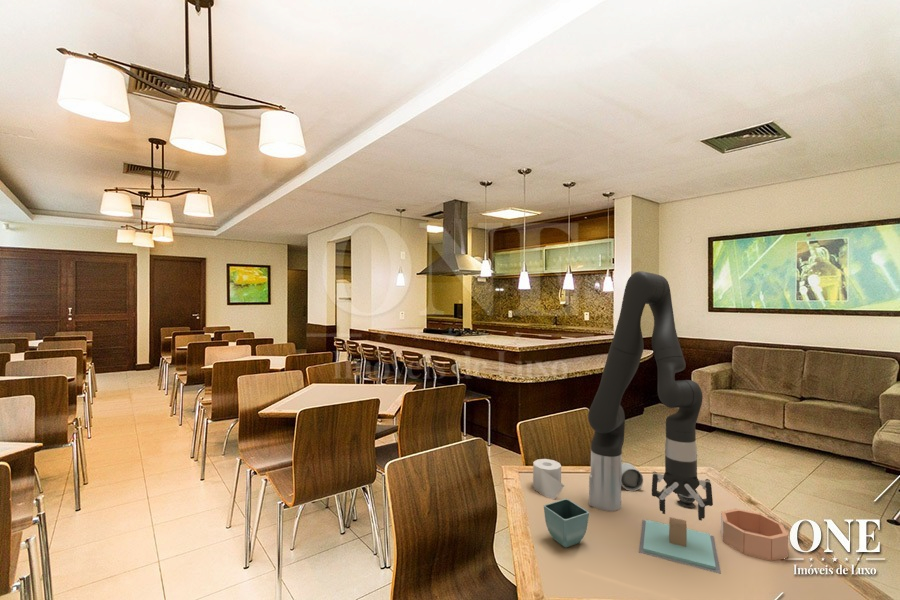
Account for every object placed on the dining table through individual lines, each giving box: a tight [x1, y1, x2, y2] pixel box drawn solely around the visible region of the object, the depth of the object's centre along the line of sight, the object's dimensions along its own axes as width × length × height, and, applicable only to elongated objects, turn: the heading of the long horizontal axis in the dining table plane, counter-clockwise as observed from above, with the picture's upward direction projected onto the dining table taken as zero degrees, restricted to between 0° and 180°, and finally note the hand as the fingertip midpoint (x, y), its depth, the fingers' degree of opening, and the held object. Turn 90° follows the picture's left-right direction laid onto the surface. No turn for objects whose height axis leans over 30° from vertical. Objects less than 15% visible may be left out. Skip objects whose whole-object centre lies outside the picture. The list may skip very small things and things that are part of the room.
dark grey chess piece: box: [676, 494, 697, 509], centre depth 136 cm, size 6×6×12 cm
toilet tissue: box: [532, 458, 565, 500], centre depth 145 cm, size 9×13×9 cm
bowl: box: [720, 508, 789, 562], centre depth 114 cm, size 14×14×6 cm
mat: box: [638, 519, 722, 575], centre depth 114 cm, size 18×18×1 cm
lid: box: [643, 516, 716, 570], centre depth 114 cm, size 16×16×6 cm
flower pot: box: [543, 498, 590, 549], centre depth 115 cm, size 9×9×9 cm
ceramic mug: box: [621, 462, 644, 492], centre depth 149 cm, size 11×8×8 cm
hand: (681, 515), depth 114 cm, fingers open, 8 cm apart
